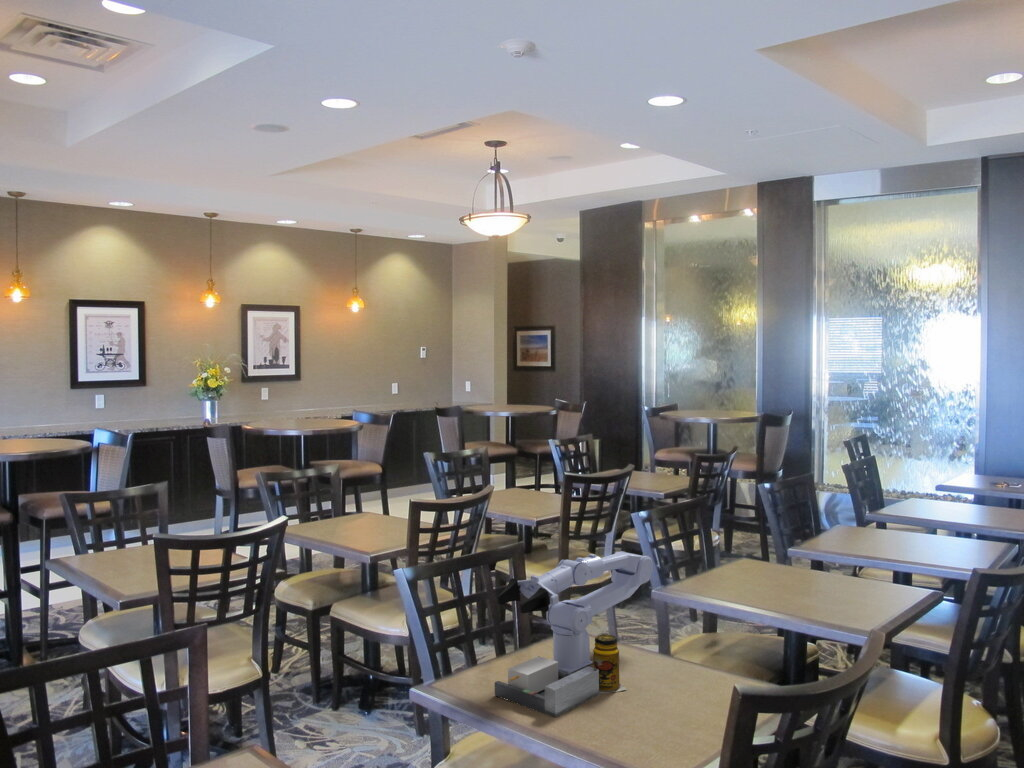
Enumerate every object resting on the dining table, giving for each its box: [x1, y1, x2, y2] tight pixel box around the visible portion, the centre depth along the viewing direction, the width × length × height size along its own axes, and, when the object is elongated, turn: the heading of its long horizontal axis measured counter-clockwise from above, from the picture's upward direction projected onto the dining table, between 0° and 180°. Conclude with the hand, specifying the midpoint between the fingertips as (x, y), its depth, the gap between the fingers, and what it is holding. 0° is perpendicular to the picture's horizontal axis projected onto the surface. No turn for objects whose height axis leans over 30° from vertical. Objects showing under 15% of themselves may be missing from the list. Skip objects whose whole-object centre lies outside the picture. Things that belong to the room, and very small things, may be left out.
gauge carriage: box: [507, 655, 558, 693], centre depth 194 cm, size 14×6×5 cm, turn 138°
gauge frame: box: [494, 665, 600, 718], centre depth 192 cm, size 16×18×6 cm
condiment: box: [592, 633, 628, 695], centre depth 198 cm, size 7×8×12 cm
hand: (509, 604), depth 196 cm, fingers open, 7 cm apart
